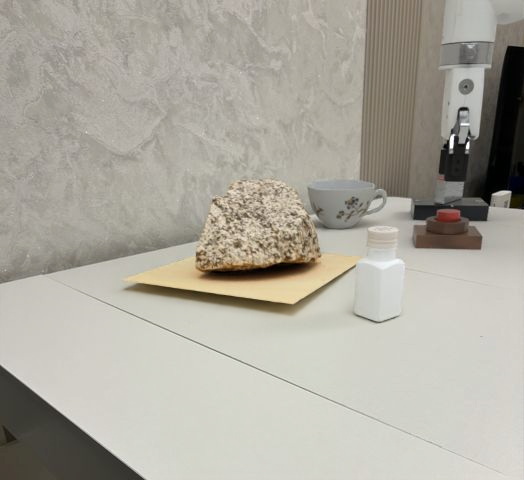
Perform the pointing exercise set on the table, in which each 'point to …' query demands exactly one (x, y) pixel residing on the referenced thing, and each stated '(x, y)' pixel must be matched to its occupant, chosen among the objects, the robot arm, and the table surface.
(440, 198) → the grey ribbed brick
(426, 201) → the faucet plate
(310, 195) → the teacup
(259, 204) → the rock
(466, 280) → the table surface
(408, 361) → the table surface
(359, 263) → the salt shaker
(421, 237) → the button block
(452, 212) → the button
